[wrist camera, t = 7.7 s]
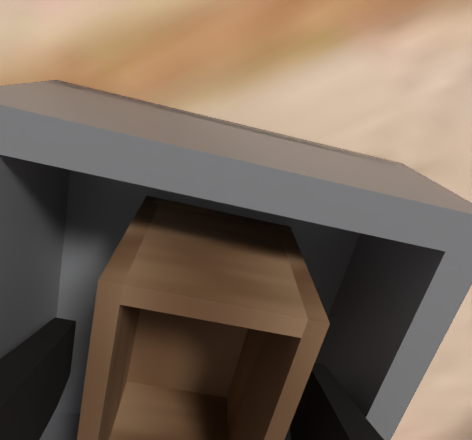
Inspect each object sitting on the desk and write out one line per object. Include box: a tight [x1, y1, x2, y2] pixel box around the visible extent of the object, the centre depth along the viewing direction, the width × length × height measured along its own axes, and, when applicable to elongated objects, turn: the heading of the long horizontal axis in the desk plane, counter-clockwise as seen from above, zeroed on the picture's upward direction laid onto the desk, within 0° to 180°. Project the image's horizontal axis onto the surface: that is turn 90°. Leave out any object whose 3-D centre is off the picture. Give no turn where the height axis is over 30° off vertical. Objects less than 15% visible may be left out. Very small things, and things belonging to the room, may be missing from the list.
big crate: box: [0, 80, 472, 440], centre depth 13 cm, size 12×14×6 cm
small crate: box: [77, 196, 330, 440], centre depth 12 cm, size 5×8×6 cm, turn 166°
